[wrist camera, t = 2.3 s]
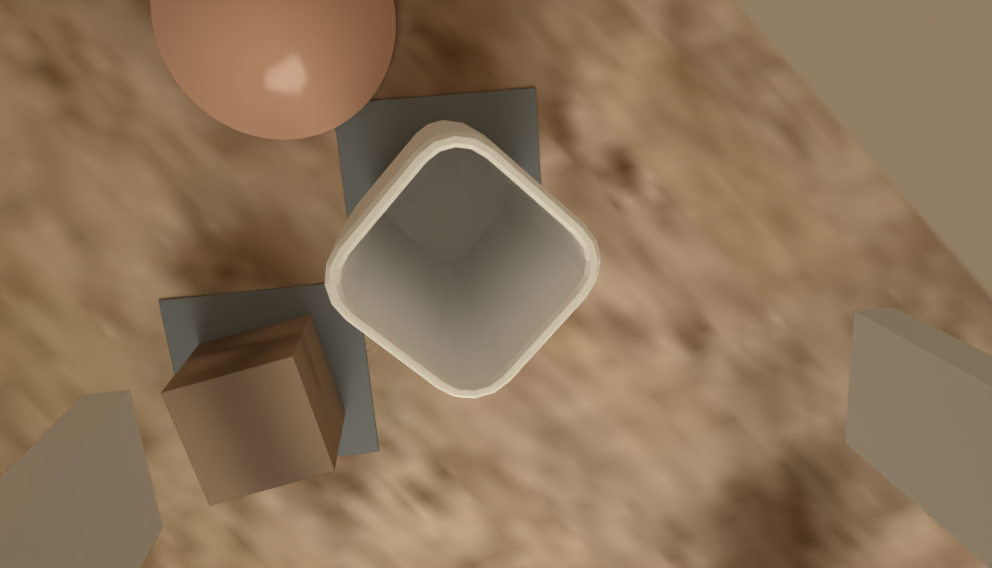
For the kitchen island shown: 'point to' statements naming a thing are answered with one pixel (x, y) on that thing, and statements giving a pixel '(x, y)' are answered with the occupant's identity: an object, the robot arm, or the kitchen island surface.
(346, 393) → the code tile
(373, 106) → the code tile
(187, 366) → the walnut block
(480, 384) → the cup
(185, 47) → the salmon round part
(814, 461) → the kitchen island surface
